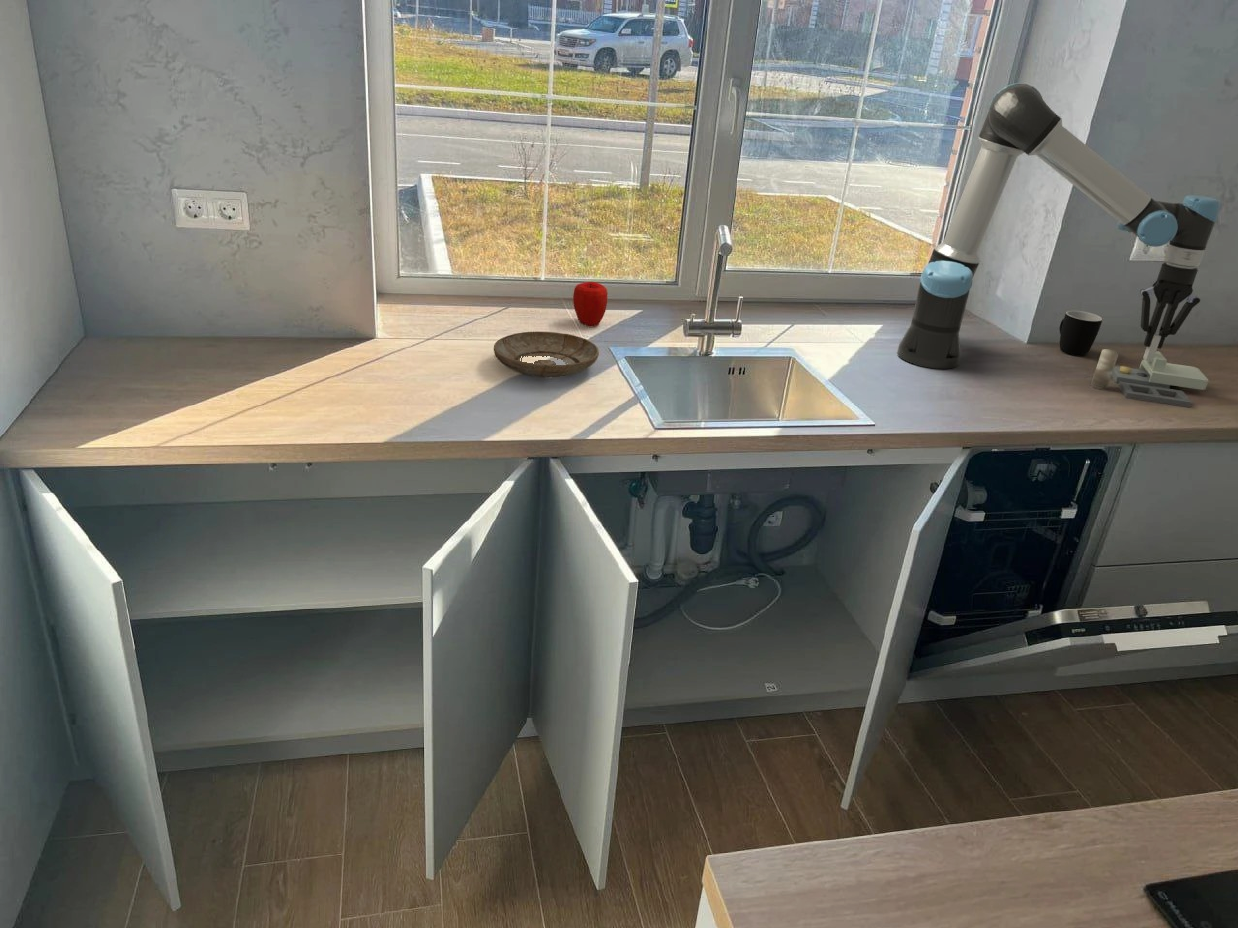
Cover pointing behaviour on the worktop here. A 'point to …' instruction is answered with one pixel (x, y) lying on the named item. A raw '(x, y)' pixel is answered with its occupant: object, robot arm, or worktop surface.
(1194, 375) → the cover
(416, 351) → the worktop surface
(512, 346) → the brown round shallow bowl
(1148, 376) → the board
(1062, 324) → the mug
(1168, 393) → the socket board
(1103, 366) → the pin
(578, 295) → the apple
